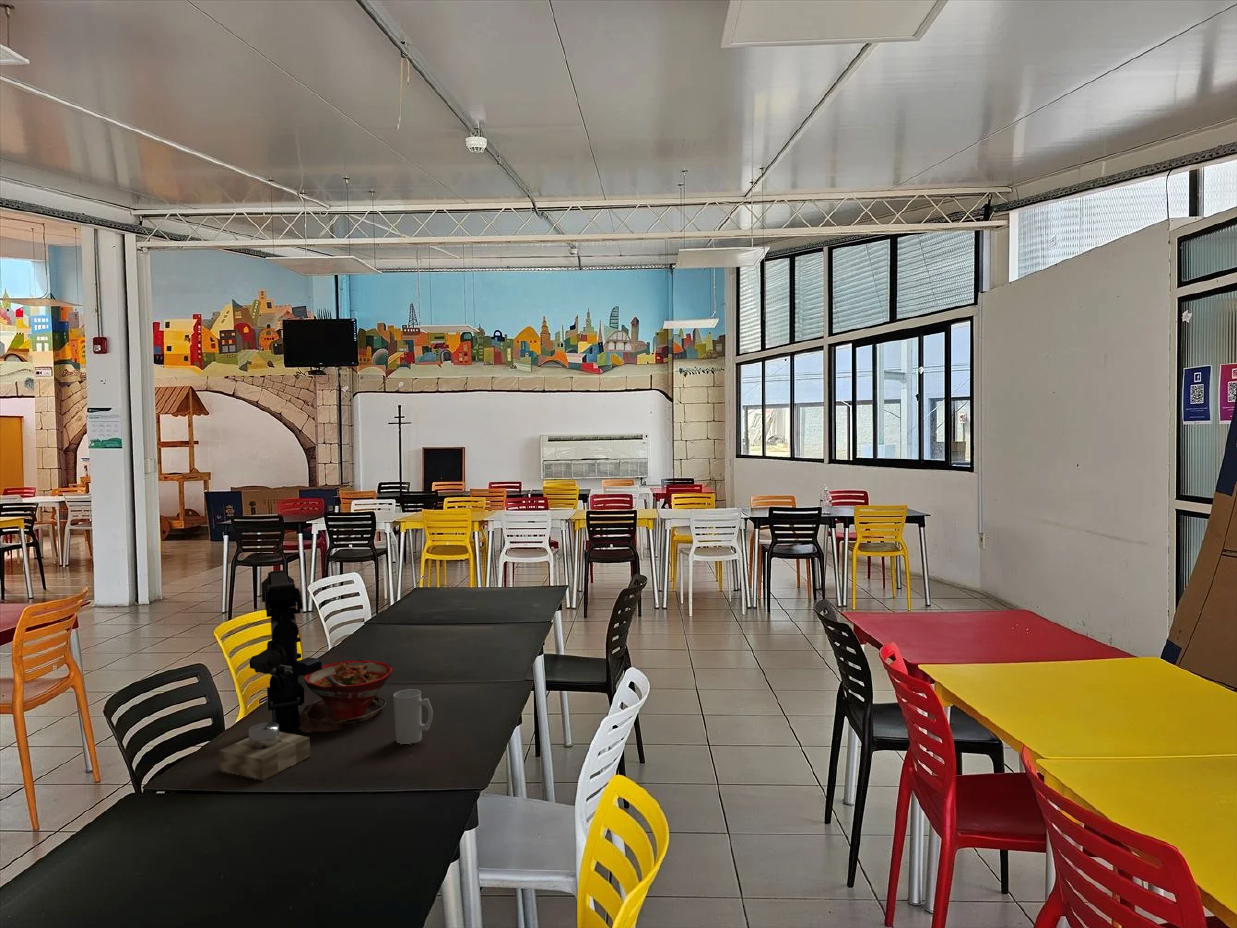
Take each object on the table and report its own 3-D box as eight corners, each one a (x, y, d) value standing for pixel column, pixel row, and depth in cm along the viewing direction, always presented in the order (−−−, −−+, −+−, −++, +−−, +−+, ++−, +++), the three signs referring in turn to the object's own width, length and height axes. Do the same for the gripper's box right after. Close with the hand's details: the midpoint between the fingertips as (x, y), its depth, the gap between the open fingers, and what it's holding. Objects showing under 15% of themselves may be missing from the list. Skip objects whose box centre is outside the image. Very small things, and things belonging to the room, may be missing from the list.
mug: (390, 744, 205) (388, 697, 204) (402, 734, 211) (400, 688, 211) (427, 746, 203) (426, 699, 202) (439, 736, 209) (437, 690, 209)
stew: (361, 737, 210) (359, 675, 209) (277, 733, 215) (274, 673, 214) (409, 700, 238) (407, 646, 237) (333, 697, 242) (331, 644, 241)
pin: (244, 767, 193) (242, 730, 193) (266, 757, 199) (265, 720, 199) (264, 772, 190) (262, 733, 190) (286, 761, 196) (285, 724, 196)
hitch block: (219, 771, 191) (218, 750, 191) (268, 749, 204) (267, 729, 204) (263, 781, 185) (262, 759, 185) (310, 757, 198) (309, 737, 198)
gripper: (229, 640, 199) (232, 703, 200) (285, 647, 191) (289, 713, 192) (266, 629, 209) (269, 689, 210) (321, 635, 201) (324, 698, 202)
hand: (287, 697), depth 203 cm, fingers closed
